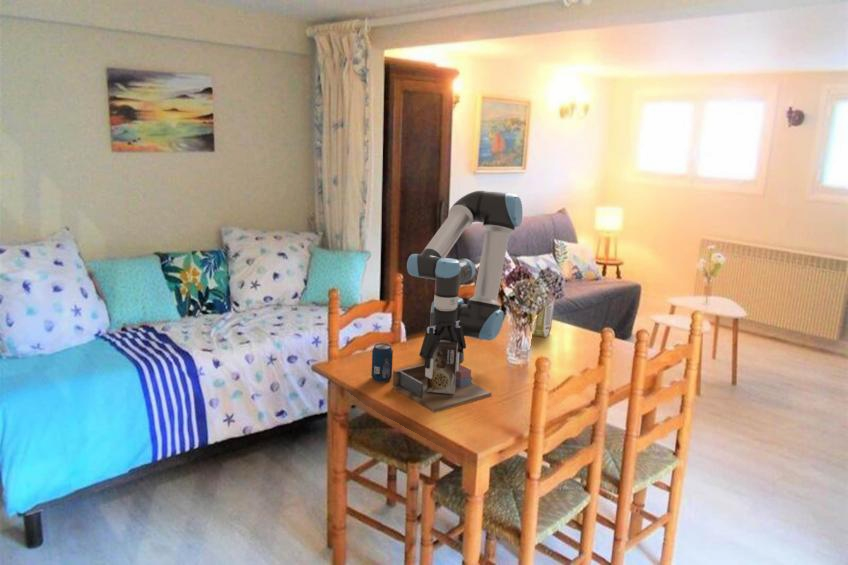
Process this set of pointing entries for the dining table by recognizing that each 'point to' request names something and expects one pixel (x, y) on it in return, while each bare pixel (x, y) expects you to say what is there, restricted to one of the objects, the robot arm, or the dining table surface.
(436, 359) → the coffee box
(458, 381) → the books
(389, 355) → the soda can
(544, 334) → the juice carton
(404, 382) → the grey upright panel
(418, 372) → the book stand
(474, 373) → the dining table surface
